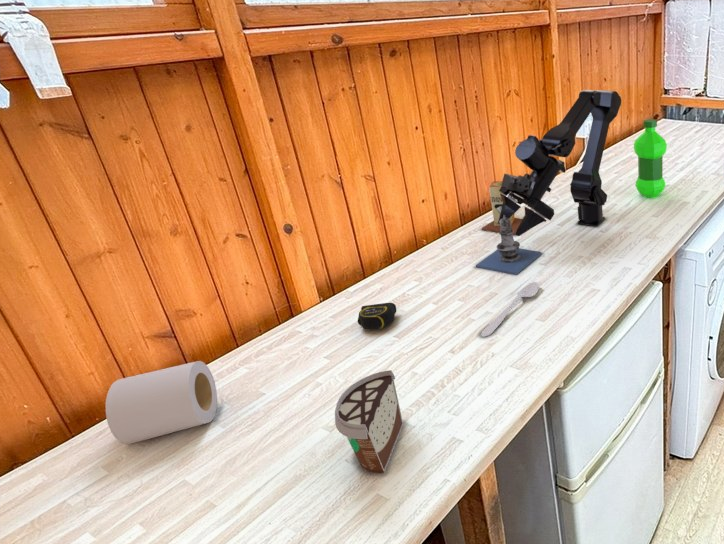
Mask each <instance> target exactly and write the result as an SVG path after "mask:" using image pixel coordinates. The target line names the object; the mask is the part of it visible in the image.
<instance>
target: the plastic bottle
mask: <svg viewBox="0 0 724 544" xmlns="http://www.w3.org/2000/svg"><path fill="white" fill-rule="evenodd" d="M642 122H643V123H642V126H643V128H644V132H642V134H640V135H639V136H638V137H637V138H636V139H635V140H634V143H633V149H634V153H635V154H636V155H637V166H638V167H637V169H638V172H637V173H638V175H637V176H638V177H637V179H636V180H635V188H636V190H637V191H638V193H639V194H640V195H641V196H643V197H644V198H646V199H654V198H657V197H659V195H660V194H661V193H663V191H664V190H665V188H666V180H665V179H664V177H663V160H664V159H663V156H664V155H666V152H667V149H668V147H667V146H668V144H667V142H666V139H664V137H663V136H661V135H660V134H659V133H658V132H657V131H656V128H657V127H658V120H657V119H655V118H648V119H644V120H642Z"/></svg>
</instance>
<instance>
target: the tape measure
mask: <svg viewBox="0 0 724 544" xmlns="http://www.w3.org/2000/svg"><path fill="white" fill-rule="evenodd" d="M396 313H397V306H396V304H395V303H394V302H384V303H375V304H367V305H362V306H361V307H360V311H359V313H358V317H357V324H358V325H359V326H360V327H362V329H363V330H366V331H377V330H381V329H384V328H387V327H388V326H390V325H391V324H392V323H393V322H394V321H395V319H396Z"/></svg>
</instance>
